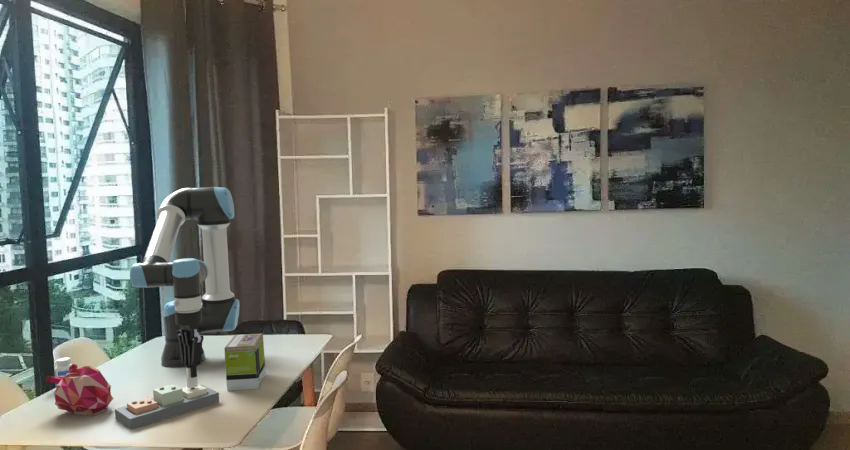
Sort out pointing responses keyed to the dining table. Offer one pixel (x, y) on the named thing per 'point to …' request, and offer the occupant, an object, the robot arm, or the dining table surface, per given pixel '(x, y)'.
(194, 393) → the tile one
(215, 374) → the dining table surface
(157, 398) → the tile two
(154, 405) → the tile three
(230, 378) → the tea box
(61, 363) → the pill bottle
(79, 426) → the dining table surface
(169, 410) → the button board
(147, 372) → the dining table surface
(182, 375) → the dining table surface
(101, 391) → the sculpture
